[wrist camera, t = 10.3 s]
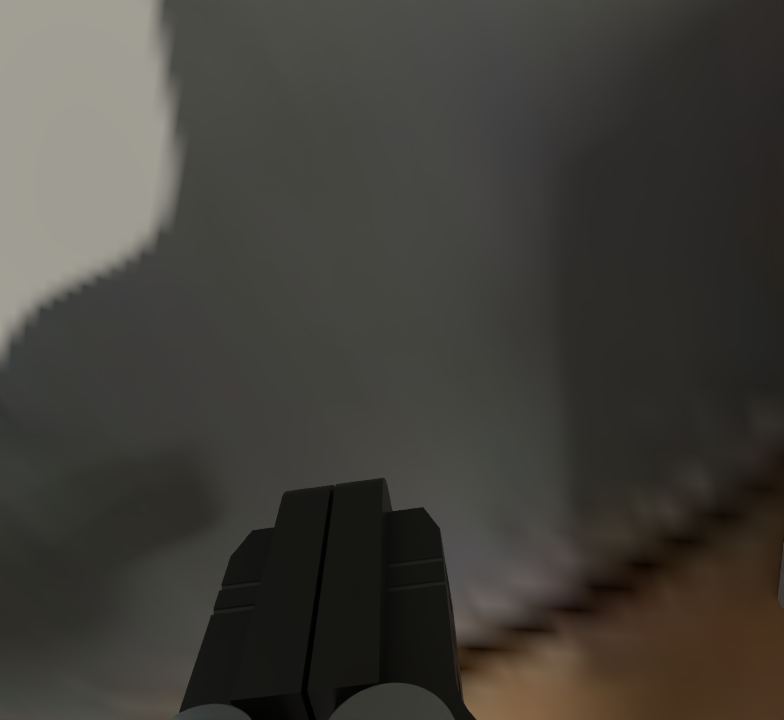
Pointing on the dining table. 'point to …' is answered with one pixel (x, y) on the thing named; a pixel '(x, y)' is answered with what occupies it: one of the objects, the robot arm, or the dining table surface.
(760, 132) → the dining table surface
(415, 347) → the dining table surface
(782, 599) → the grey flat bracket
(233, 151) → the dining table surface
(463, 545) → the dining table surface
